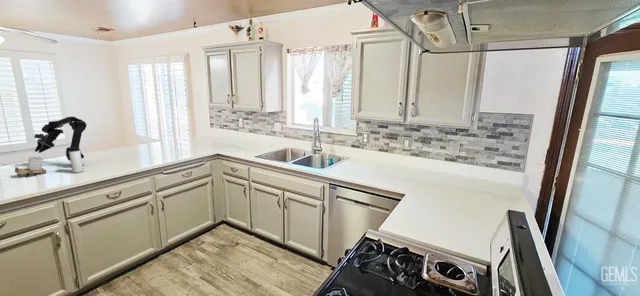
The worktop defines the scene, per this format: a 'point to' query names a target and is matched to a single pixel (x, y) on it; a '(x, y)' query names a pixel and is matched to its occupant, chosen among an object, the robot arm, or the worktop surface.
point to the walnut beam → (29, 171)
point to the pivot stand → (27, 175)
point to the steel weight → (35, 163)
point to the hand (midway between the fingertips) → (37, 152)
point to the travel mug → (75, 159)
